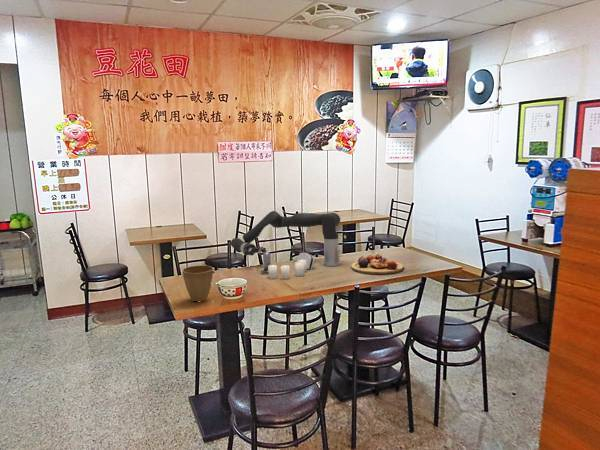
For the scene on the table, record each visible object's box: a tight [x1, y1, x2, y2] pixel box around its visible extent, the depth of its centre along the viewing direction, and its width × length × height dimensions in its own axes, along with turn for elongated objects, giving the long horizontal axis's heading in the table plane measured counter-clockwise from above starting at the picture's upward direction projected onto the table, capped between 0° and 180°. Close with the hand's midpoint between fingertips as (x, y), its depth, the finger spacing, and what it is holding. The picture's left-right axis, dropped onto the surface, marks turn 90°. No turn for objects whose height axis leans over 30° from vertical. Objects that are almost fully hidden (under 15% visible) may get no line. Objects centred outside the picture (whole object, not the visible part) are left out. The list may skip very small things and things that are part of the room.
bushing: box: [262, 251, 272, 273], centre depth 264 cm, size 5×5×12 cm
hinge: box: [293, 252, 315, 271], centre depth 275 cm, size 17×5×10 cm, turn 25°
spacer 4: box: [298, 260, 308, 274], centre depth 264 cm, size 5×5×7 cm
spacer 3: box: [294, 262, 305, 277], centre depth 257 cm, size 5×5×7 cm
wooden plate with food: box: [350, 253, 405, 275], centre depth 268 cm, size 32×32×8 cm
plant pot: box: [181, 265, 214, 302], centre depth 216 cm, size 15×15×16 cm
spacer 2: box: [280, 264, 291, 280], centre depth 251 cm, size 5×5×7 cm
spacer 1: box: [267, 264, 278, 280], centre depth 253 cm, size 5×5×7 cm
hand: (259, 252), depth 273 cm, fingers open, 8 cm apart
